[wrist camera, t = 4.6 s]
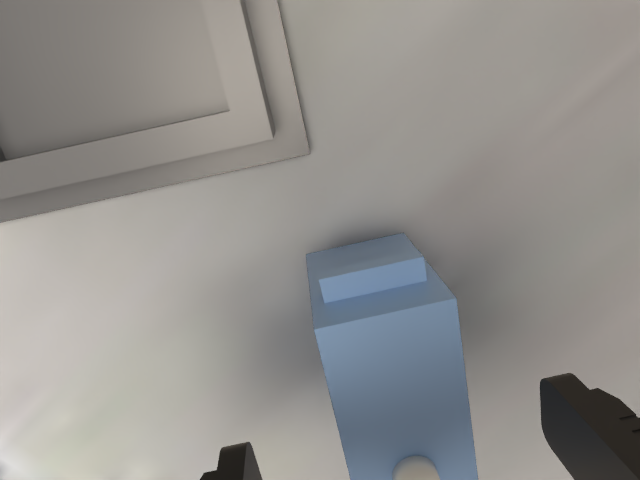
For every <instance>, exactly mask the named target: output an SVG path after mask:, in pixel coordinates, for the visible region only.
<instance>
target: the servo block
mask: <svg viewBox="0 0 640 480" xmlns="http://www.w3.org/2000/svg"><path fill="white" fill-rule="evenodd" d="M306 260H307V269H308V279H309V288H310V297H311V307H312V316H313V326H314V332H315V336H316V340H317V344H318V348H319V352H320V356H321V361H322V365H323V369H324V373H325V377H326V381H327V385H328V389H329V393H330V397H331V401H332V406H333V410H334V414H335V418H336V422H337V426H338V430H339V434H340V438H341V442H342V447H343V451H344V455H345V459H346V463H347V467H348V471H349V475H350V479H351V480H478V474H477V466H476V457H475V449H474V441H473V432H472V424H471V416H470V407H469V399H468V391H467V382H466V374H465V366H464V357H463V349H462V341H461V332H460V324H459V316H458V307H457V299H456V297H455V296H454V295H453V293H452V292H451V291H450V290H449V288H448V287H447V286H446V285H445V283H444V282H443V281H442V280H441V279H440V277H439V276H438V275H437V274H436V272H435V271H434V270H433V269H432V267H431V266H430V265H429V264H428V262H427V261H426V260H425V259H424V256H423V255H422V254H421V253H420V252H419V250H417V249H416V248H415V246H414V245H413V244H412V243H411V241H410V240H409V239H408V238H407V236H406V235H405V234H404V233H400V234H395V235H391V236H386V237H382V238H377V239H373V240H368V241H364V242H359V243H355V244H350V245H346V246H341V247H337V248H332V249H328V250H323V251H318V252H314V253H309V254H306Z"/></svg>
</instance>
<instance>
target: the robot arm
mask: <svg viewBox="0 0 640 480" xmlns="http://www.w3.org/2000/svg"><path fill="white" fill-rule="evenodd" d="M540 400H541V424H542V429H543V433H544V435H545V438H546V440H547V442H548V444H549V446H550V447H551V449H552V450H553V452H554V453H555V454H556V456H557V457H558V458H559V460H560V461H561V462H562V464H563V465H564V466H565V468H566V469H567V470H568V472H569V473H570V474H571V476H572V477H573V478H574V480H640V418H637V416H636V414H635V413H634V412H633V411H632V410H631V409H630V408H628V407H627V406H626V405H625V404H624V403H623V402H622V401H621V400H620V399H618V398H616V397H614V396H612V395H610V394H608V393H606V392H604V391H602V390H600V389H599V388H596V389H592V390H589V389H588V388H587V387H586V386H585V385H584V384H583V383H582V382H581V381H580V380H579V379H578V378H577V377H576V376H575V375H573V374H571V373H567V374H562V375H558V376H553V377H549V378H544V379H542V380H541V382H540ZM200 480H262V477H261V474H260V471H259V467H258V464H257V461H256V458H255V455H254V451H253V448H252V445H251V443H250V442H245V443H241V444H236V445H231V446H227V447H223V448H222V449H221V451H220V455H219V461H218V467H217V470H215V471H211V472H206V473H204V474H203V476H202V477H201V479H200Z"/></svg>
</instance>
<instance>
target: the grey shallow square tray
mask: <svg viewBox="0 0 640 480" xmlns="http://www.w3.org/2000/svg"><path fill="white" fill-rule="evenodd" d="M308 154H310V150H309V146H308V141H307V137H306V132H305V127H304V123H303V118H302V113H301V109H300V104H299V99H298V95H297V90H296V85H295V81H294V76H293V72H292V67H291V62H290V58H289V53H288V48H287V44H286V39H285V34H284V30H283V25H282V21H281V16H280V11H279V7H278V2H277V0H0V223H1V222H6V221H10V220H15V219H19V218H24V217H28V216H33V215H37V214H42V213H46V212H51V211H55V210H60V209H64V208H69V207H73V206H78V205H82V204H87V203H91V202H96V201H100V200H105V199H109V198H114V197H119V196H123V195H128V194H132V193H137V192H141V191H146V190H150V189H155V188H159V187H164V186H168V185H173V184H177V183H182V182H186V181H191V180H195V179H200V178H204V177H209V176H213V175H218V174H222V173H227V172H231V171H236V170H240V169H245V168H249V167H254V166H258V165H263V164H267V163H272V162H276V161H281V160H285V159H290V158H294V157H299V156H303V155H308Z"/></svg>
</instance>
